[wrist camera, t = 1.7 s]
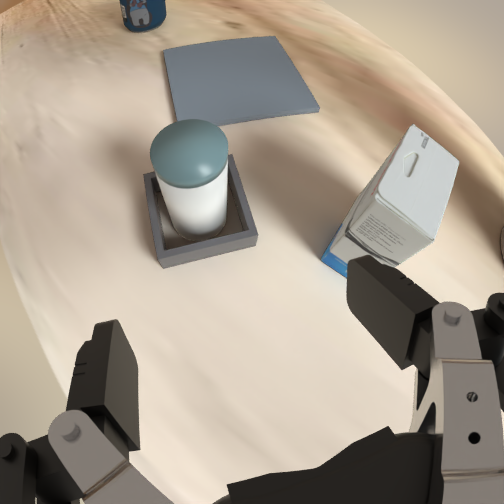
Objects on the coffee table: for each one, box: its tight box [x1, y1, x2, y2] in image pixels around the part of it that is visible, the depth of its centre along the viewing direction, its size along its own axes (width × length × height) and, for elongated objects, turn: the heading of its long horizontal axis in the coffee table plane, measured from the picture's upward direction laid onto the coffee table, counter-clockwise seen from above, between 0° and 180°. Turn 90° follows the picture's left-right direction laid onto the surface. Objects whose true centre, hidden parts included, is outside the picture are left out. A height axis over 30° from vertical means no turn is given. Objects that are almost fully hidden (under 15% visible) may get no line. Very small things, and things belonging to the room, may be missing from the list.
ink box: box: [321, 124, 459, 278], centre depth 24 cm, size 8×5×12 cm, turn 145°
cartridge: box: [150, 119, 228, 241], centre depth 24 cm, size 5×5×10 cm
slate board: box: [163, 36, 320, 126], centre depth 35 cm, size 16×16×1 cm
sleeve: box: [143, 154, 258, 269], centre depth 27 cm, size 8×8×2 cm
